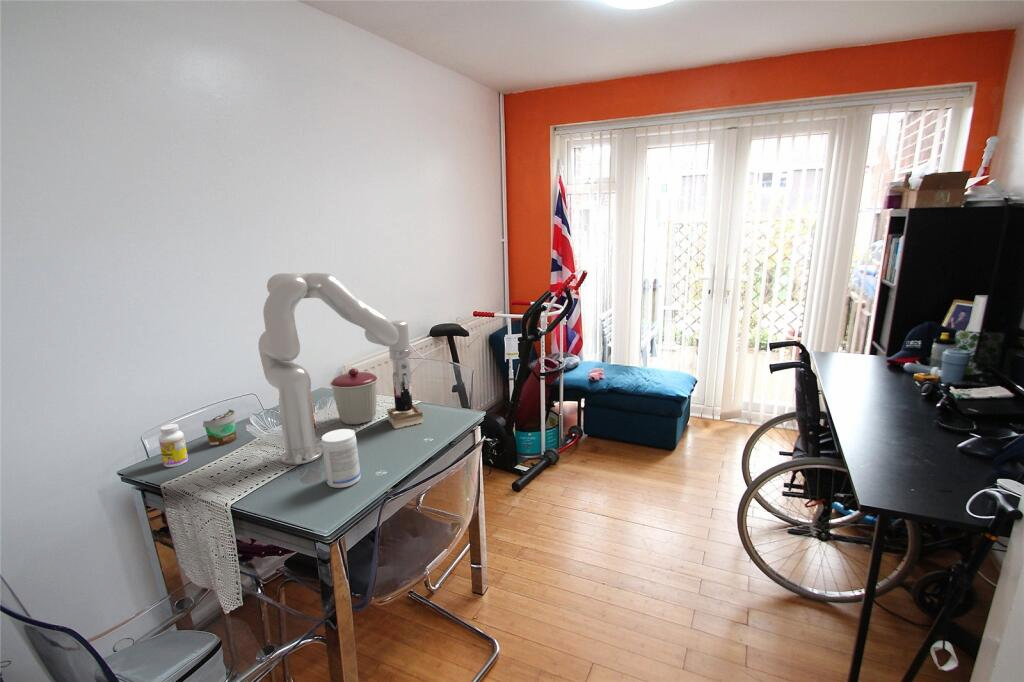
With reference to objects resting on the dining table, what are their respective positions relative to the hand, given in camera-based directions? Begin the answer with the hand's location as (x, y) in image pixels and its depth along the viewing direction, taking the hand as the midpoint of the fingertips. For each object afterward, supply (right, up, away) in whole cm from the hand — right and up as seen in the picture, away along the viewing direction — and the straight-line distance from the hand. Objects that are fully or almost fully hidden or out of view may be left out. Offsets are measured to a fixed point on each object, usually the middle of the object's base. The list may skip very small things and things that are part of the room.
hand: (403, 398), depth 182 cm
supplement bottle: (-68, -18, -28) cm, 76 cm away
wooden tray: (0, -9, +2) cm, 10 cm away
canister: (-19, -9, +5) cm, 22 cm away
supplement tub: (-8, -20, -42) cm, 47 cm away
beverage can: (0, -5, +1) cm, 5 cm away
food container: (-60, -14, -12) cm, 63 cm away
